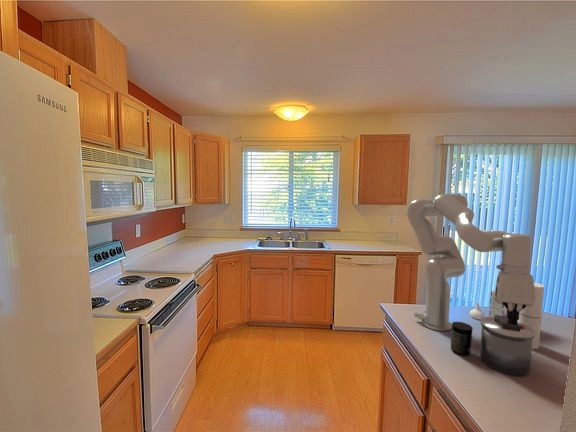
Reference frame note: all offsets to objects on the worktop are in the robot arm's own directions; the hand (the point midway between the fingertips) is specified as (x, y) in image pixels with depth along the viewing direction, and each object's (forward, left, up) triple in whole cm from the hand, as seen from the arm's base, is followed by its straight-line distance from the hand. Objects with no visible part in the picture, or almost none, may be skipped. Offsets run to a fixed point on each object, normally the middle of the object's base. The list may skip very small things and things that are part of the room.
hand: (512, 321), depth 96 cm
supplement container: (-14, +4, -17) cm, 22 cm away
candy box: (+11, +37, -17) cm, 42 cm away
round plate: (-1, +1, -4) cm, 4 cm away
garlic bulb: (+1, +41, -17) cm, 44 cm away
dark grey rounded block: (-1, +1, -16) cm, 17 cm away
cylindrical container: (+13, +20, -17) cm, 29 cm away
